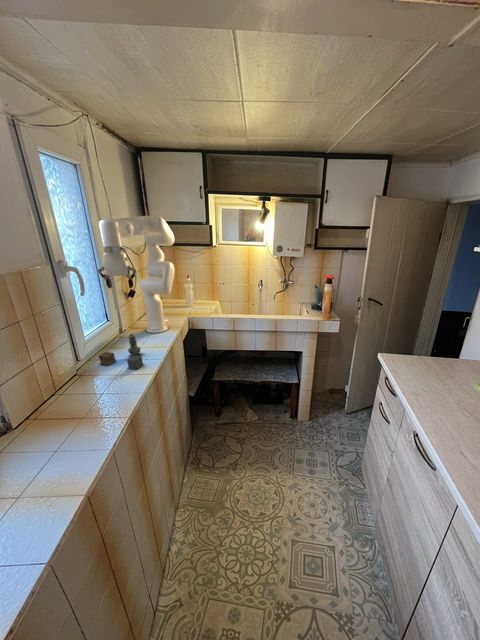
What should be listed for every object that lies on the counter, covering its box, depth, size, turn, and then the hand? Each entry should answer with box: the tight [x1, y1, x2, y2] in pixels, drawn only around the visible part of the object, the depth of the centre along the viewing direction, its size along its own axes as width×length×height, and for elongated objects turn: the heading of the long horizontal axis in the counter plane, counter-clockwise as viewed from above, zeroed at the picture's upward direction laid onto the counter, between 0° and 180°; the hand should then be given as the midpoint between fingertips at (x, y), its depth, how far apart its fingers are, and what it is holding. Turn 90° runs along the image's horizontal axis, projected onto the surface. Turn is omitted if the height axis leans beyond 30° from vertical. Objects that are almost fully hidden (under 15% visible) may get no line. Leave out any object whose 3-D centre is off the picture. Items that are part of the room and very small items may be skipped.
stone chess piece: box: [127, 333, 142, 358], centre depth 138 cm, size 6×6×12 cm
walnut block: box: [98, 351, 116, 366], centre depth 132 cm, size 4×4×4 cm
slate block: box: [126, 355, 144, 370], centre depth 129 cm, size 4×4×4 cm
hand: (120, 287), depth 134 cm, fingers open, 9 cm apart
